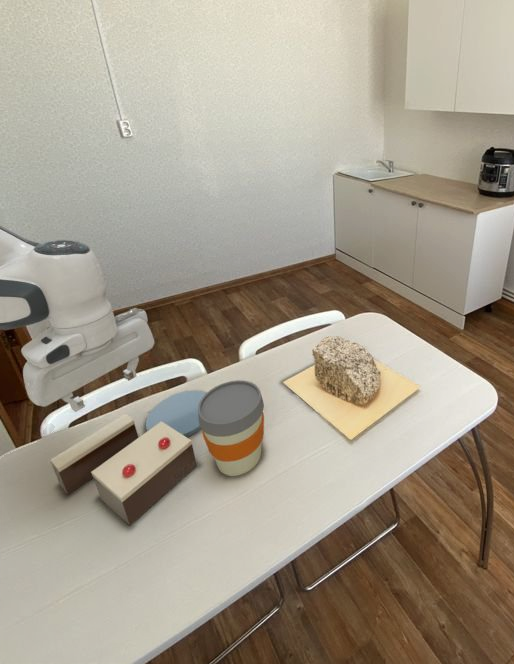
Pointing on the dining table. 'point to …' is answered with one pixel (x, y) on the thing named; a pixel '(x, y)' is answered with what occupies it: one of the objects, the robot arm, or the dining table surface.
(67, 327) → the robot arm
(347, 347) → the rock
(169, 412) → the plate
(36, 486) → the dining table surface
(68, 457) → the cake slice
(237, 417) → the reusable coffee cup
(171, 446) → the cake
